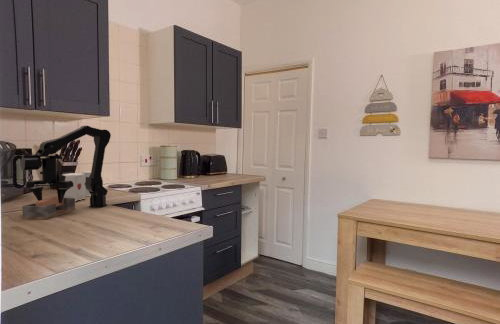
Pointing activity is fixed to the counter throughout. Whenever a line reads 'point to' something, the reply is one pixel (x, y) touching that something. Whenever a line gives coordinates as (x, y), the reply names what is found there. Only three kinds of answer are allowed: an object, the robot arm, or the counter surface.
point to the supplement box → (75, 186)
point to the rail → (49, 201)
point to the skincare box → (87, 174)
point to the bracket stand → (47, 210)
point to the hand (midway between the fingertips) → (50, 202)
